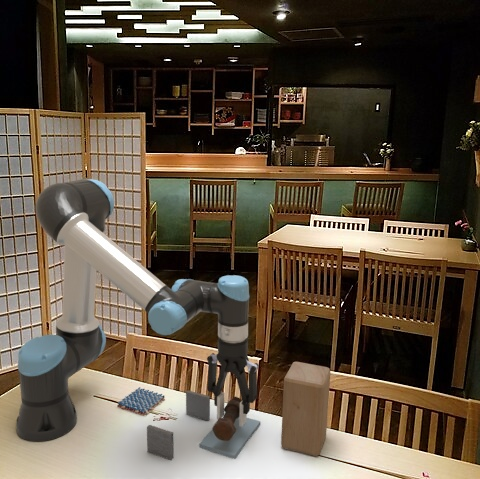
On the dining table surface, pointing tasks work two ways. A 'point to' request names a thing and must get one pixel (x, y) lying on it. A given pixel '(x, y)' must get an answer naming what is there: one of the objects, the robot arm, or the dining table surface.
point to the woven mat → (141, 401)
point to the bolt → (228, 420)
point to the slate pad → (235, 443)
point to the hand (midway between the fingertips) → (231, 420)
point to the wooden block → (305, 408)
